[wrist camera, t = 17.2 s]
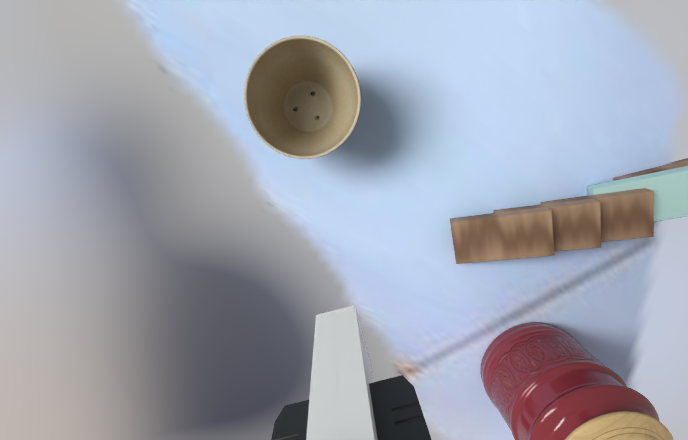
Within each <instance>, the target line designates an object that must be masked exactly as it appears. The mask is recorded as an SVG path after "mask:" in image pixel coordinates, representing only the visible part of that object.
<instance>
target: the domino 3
mask: <svg viewBox="0 0 688 440" xmlns="http://www.w3.org/2000/svg"><path fill="white" fill-rule="evenodd" d="M586 199H595V200H597V201H599V202H600V214H601V242H604V241H614V240H624V239H634V238H644V237H653V230H654V191H652V190H649V189H647V188H641V189H633V190H626V191H619V192H612V193H604V194H597V195H590V196H583V197H575V198H568V199H561V200H553V201H546V202H541V205H543V204H552V203H560V202H569V201H577V200H586Z"/></svg>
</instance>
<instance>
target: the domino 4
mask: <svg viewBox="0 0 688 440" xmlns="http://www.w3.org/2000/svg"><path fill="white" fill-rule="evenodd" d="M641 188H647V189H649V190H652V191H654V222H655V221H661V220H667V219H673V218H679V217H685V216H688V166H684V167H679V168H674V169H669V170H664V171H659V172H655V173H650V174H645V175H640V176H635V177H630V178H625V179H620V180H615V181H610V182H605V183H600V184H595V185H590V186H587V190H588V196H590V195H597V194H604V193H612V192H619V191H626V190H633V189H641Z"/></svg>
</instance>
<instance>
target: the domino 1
mask: <svg viewBox="0 0 688 440" xmlns="http://www.w3.org/2000/svg"><path fill="white" fill-rule="evenodd" d="M450 223H451V230H452V237H453V244H454V251H455V258H456V264H461V263H472V262H484V261H495V260H506V259H518V258H529V257H540V256H552V255H554V240H553V225H552V210H551V209H549V208H548V207H539V208H531V209H523V210H515V211H507V212H500V213H492V214H484V215H476V216H468V217H460V218H453V219H450Z"/></svg>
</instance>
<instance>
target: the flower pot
mask: <svg viewBox="0 0 688 440" xmlns="http://www.w3.org/2000/svg"><path fill="white" fill-rule="evenodd" d="M311 92H313V95H311ZM244 102H245V109H246V113H247V116H248V119H249V121H250V123H251V125H252V127H253V129H254V131H255V132H256V134H257V135H258V136H259V137H260V139H261V140H262V141H263V142H264V143H265V144H267V145H268V146H269V147H270V148H272V149H273V150H275V151H276V152H278V153H280V154H283V155H285V156H289V157H292V158H298V159H311V158H317V157H321V156H324V155H326V154H328V153H330V152H332V151H334V150H335V149H337V148H338V147H339V146H341V145H342V144H343V143H344V142H345V141H346V139H347V138H348V137H349V136H350V134H351V133H352V131H353V129H354V127H355V125H356V123H357V120H358V117H359V113H360V107H361V91H360V86H359V81H358V78H357V76H356V73H355V71H354V69H353V67H352V65H351V64H350V62H349V61H348V59H347V58H346V57H345V56H344V55H343V54H342V53H341V52H340V51H339V50H338V49H337V48H335V47H334V46H333V45H331V44H330V43H328V42H326V41H323V40H321V39H318V38H315V37H310V36H291V37H286V38H283V39H280V40H278V41H276V42H274V43H272V44H271V45H269V46H268V47H267V48H265V49H264V50H263V51H262V52H261V53H260V54H259V55H258V57H257V58H256V59H255V61H254V62H253V64H252V66H251V67H250V69H249V72H248V74H247V78H246V82H245V88H244ZM295 110H297V111H295ZM317 116H318V117H319V118H317Z"/></svg>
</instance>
